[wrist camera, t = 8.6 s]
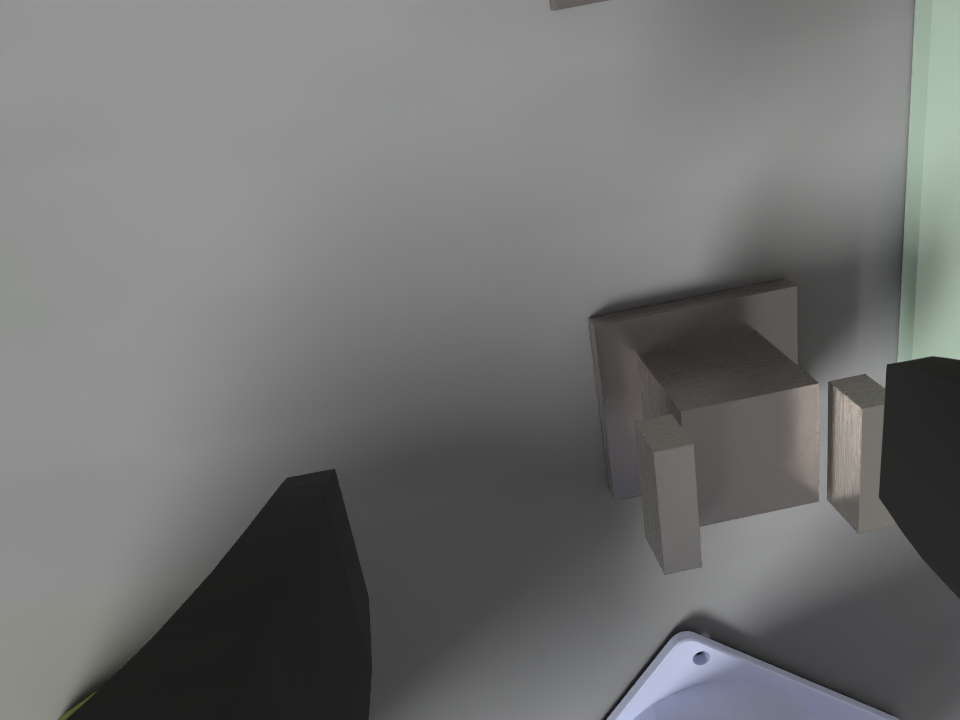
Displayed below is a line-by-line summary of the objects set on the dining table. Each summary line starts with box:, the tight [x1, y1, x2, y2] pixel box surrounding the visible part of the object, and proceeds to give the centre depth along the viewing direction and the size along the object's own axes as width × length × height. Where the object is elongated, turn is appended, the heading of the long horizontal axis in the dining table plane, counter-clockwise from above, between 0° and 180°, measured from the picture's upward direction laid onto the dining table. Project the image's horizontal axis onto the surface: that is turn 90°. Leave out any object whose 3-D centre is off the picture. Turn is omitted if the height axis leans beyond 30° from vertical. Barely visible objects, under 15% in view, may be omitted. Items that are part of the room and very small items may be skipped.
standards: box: [550, 0, 895, 575], centre depth 16 cm, size 17×5×5 cm, turn 10°
